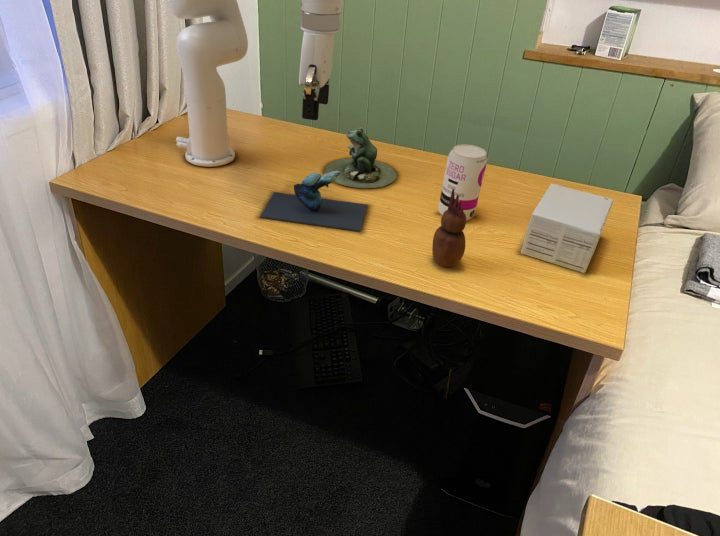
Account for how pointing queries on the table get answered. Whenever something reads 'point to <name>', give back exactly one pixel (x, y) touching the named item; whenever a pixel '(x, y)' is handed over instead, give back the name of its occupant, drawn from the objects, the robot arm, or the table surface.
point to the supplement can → (463, 178)
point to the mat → (315, 212)
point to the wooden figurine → (450, 235)
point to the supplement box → (566, 227)
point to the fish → (313, 189)
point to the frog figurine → (361, 164)
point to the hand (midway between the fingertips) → (315, 110)
